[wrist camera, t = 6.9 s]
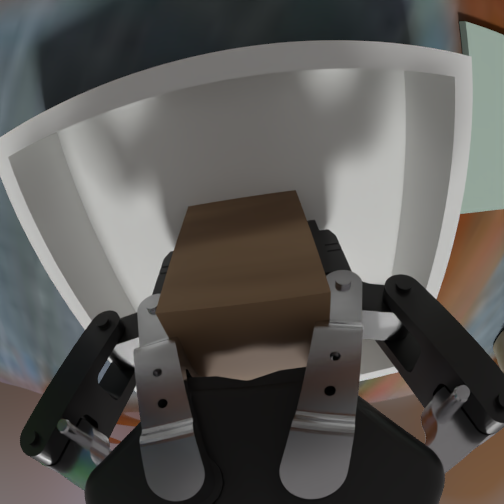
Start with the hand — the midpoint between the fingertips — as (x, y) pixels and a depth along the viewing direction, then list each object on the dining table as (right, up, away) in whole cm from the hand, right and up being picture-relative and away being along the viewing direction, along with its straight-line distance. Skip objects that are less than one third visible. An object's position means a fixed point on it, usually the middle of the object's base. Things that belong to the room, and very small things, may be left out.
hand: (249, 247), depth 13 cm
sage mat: (+15, +7, -3) cm, 17 cm away
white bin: (0, +1, +1) cm, 1 cm away
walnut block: (0, 0, 0) cm, 0 cm away
